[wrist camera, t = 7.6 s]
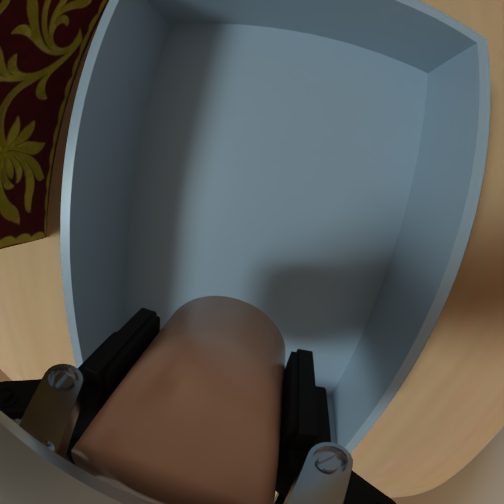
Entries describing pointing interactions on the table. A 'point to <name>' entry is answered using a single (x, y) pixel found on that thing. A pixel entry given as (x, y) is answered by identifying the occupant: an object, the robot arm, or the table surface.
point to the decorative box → (35, 102)
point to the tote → (278, 177)
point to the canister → (196, 411)
